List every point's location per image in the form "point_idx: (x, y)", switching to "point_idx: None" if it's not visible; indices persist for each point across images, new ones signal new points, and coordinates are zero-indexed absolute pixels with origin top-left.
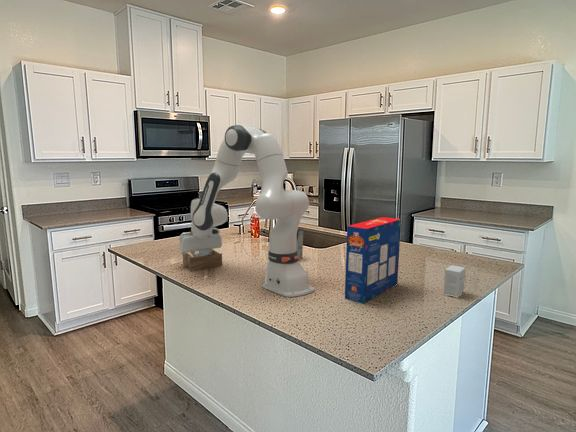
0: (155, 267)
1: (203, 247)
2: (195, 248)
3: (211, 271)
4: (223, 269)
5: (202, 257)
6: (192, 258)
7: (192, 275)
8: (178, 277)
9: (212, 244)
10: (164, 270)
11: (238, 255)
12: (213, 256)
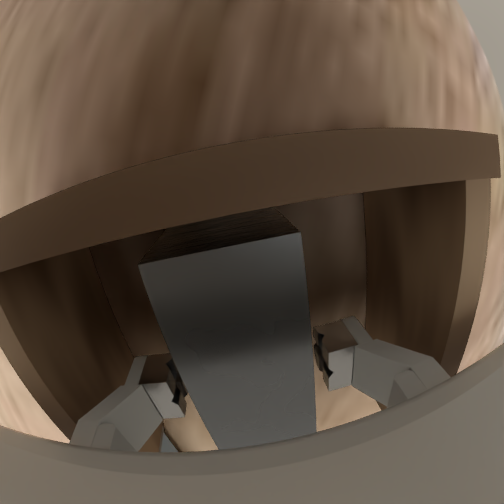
0: (497, 322)
1: (230, 500)
2: (451, 430)
3: (183, 39)
4: (57, 85)
5: (299, 136)
6: (474, 133)
7: (383, 16)
8: (463, 46)
9: (22, 500)
10: (499, 250)
11: (6, 403)
12: (48, 196)
